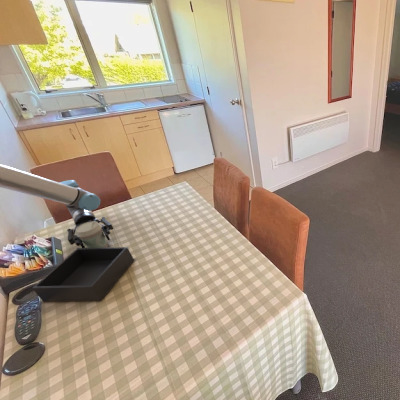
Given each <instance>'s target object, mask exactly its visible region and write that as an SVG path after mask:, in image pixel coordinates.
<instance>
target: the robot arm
mask: <svg viewBox="0 0 400 400" xmlns="http://www.w3.org/2000/svg"><path fill="white" fill-rule="evenodd" d="M0 188H2V189H6V190H10V191H13V192H17V193H22V194H26V195H29V196H33V197H36V198H41V199H45V200H49V201H52V202H58V203H60V204H64V205H65V207H66V208H67V210H68V211H69V213H70V216H71V217H72V220H73V222H74V225H75V226H74V228H67V229H66V232H67V241H68V243H69V244H70V245H71V246H72V245H76V247H80V248H86V247H85V244H84V243H83V242H82V240H81V239H80V238H79V237H78V236H76V228H77V227H78V226H80V225H82V224H84V223H87V222H92V221H96V222H98V223H99V224H101V225H102V230H103V233H104V236H105V239H106V241H110V240H111V238H110V236H109V235H111V232H110V231H111V230H112V231H113V230H114V226H113V225H112V223H111V222H110V221H108V220H107V218H106V217H105V216H102V217H101V218H100V219H99V218H97V217H96V215H95V213H94V212H93V211H95V210H97V209H98V208H99V207H100V205H101V198H100V197H99V196H98V194H97V195H96V194H95V193H92V192H90V191H87V190H86V189H83V188H81V187H80V186H79V184H78V182H77V181H76V180H74V179H68V180H67V179H66V180H63V181H60V182H59V181H55V180H51V179H48V178H45V177H42V176H39V175H36V174H32V173H29V172H26V171H24V170H20V169H17V168H15V167H12V166H11V167H10V166H8V165H4V164H1V163H0Z"/></svg>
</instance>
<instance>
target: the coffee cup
mask: <svg viewBox="0 0 400 400" xmlns="http://www.w3.org/2000/svg"><path fill="white" fill-rule="evenodd" d="M102 225H103V224H102V223H98V222H96V221H92V222H87V223H84V224H82V225H80V226H78V227H77V228H76V231H75V235H76V236H78V237H79V238H80V239H81V240H82V242H83V244H84V246H86V248H109V244H108V242H107V241H108V240H107V238H106V236H105V234H104V232H103V230H102Z"/></svg>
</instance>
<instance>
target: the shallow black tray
mask: <svg viewBox="0 0 400 400" xmlns="http://www.w3.org/2000/svg"><path fill="white" fill-rule="evenodd" d="M133 262H135V259H134V257H133V254H132V253H131V252H130V249H129V247H128V246H119V247H118V246H115V247H114V246H112V247H109V246H108V248H88V247H85V248H81V247H77V248H76V249H74V250H73V252H71V253H70V254H68V256H67V257H65V258H64V259H63V260H62V261H61V262H59V264H57V266H55V267H54V268H53V269H52V270H51V271H49V272H48V273H47V274H46V275H45V276H44V277H43V278H42V279H40V280H39V281H38V282H37V283H36V284H35V285H34V286H33V287H31V289H32V290H33V291H34V292H35V293H36V295H37V296H38V297H39V298H40V300H41V301H42V302H43V303H55V302H56V303H57V302H58V303H59V302H61V303H62V302H97V301H98V302H101V301H102V300H103V299H104V298H105V296H106V295H107V294H108V293H109V292H110V291H111V289H112V288H113V287H114V286H115V284H116V283H117V282H118V281H119V279H120V278H121V277H122V275H124V273H126V271H127V270H128V269H129V267H130V266H131V265H132V264H133Z"/></svg>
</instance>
